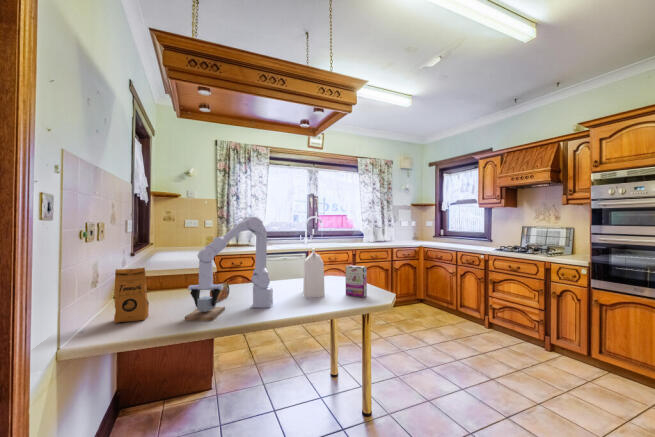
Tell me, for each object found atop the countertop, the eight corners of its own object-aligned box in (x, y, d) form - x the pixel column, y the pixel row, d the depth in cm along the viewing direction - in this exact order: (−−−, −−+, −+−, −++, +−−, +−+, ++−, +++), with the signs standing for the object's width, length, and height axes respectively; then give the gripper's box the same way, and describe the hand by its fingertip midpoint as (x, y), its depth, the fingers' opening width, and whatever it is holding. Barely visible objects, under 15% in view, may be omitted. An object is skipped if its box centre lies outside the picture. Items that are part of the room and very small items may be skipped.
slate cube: (214, 308, 130) (214, 297, 130) (206, 311, 125) (206, 300, 125) (205, 307, 131) (205, 296, 131) (197, 310, 127) (197, 299, 127)
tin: (214, 304, 145) (214, 287, 145) (208, 304, 145) (208, 287, 145) (230, 296, 159) (230, 281, 159) (224, 296, 160) (224, 281, 160)
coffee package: (146, 321, 120) (146, 269, 120) (110, 325, 116) (110, 271, 116) (151, 314, 129) (151, 265, 129) (118, 317, 125) (118, 267, 125)
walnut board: (225, 310, 135) (225, 306, 135) (212, 320, 121) (212, 317, 121) (199, 310, 135) (199, 306, 135) (184, 320, 121) (184, 317, 121)
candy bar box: (367, 295, 160) (367, 266, 160) (363, 297, 156) (363, 267, 156) (349, 293, 165) (348, 264, 165) (345, 295, 161) (345, 265, 161)
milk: (303, 291, 169) (303, 247, 169) (322, 291, 170) (322, 247, 170) (303, 297, 157) (303, 249, 157) (324, 296, 158) (324, 249, 158)
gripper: (225, 273, 133) (225, 303, 133) (192, 274, 132) (192, 303, 132) (220, 276, 126) (220, 307, 126) (186, 277, 125) (186, 308, 125)
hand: (205, 306), depth 128 cm, fingers closed on slate cube, 7 cm apart
